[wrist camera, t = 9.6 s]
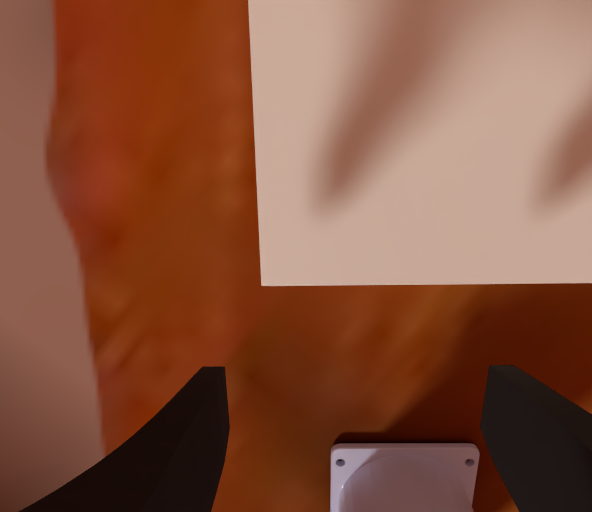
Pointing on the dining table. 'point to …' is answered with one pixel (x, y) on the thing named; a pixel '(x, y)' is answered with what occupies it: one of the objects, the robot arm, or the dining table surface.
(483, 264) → the pale beige flat-sided block
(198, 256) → the dining table surface
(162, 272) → the dining table surface
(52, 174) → the dining table surface
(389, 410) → the dining table surface
